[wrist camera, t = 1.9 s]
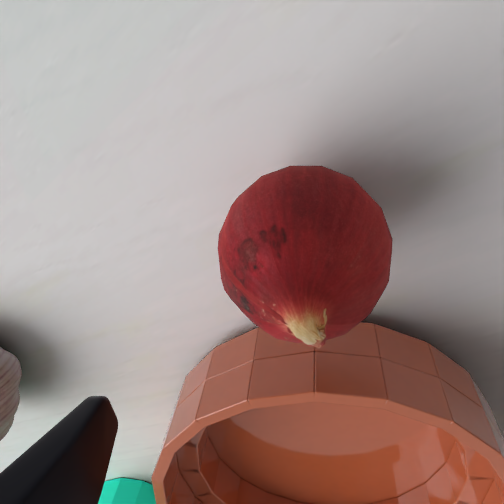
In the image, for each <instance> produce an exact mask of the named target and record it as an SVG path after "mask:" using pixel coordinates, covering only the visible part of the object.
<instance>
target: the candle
mask: <svg viewBox="0 0 504 504" xmlns="http://www.w3.org/2000/svg"><path fill="white" fill-rule="evenodd" d="M98 504H156V501H155V496H154V490H153V485H151V484H149V483H147V482H145V481H141V480H134V479H127V478H118V479H113V480H109V481H105V482H104V485H103V489H102V492H101V496H100V499H99V502H98Z"/></svg>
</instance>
